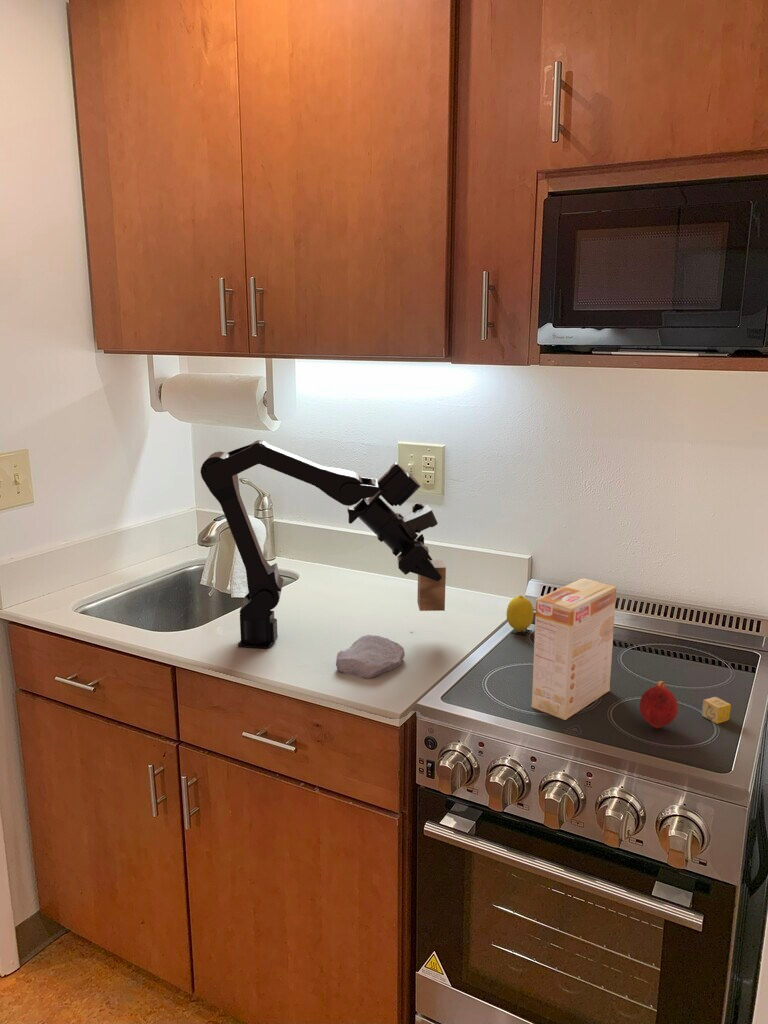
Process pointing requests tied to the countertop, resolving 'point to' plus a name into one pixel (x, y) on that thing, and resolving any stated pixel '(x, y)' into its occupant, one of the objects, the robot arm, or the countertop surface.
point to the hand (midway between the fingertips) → (438, 575)
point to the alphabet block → (716, 710)
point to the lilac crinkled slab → (370, 656)
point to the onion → (658, 706)
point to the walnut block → (432, 590)
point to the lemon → (520, 613)
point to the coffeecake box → (573, 647)
